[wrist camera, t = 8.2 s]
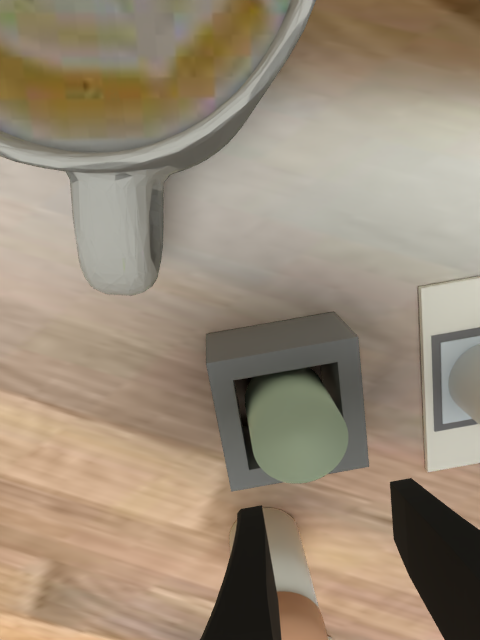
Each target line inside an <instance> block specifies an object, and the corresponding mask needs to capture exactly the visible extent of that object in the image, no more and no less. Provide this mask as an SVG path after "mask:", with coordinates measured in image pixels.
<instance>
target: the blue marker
mask: <svg viewBox="0 0 480 640" xmlns="http://www.w3.org/2000/svg"><path fill="white" fill-rule="evenodd" d="M448 387H449V392H450V395H451V397H452V399H453V401H454V402H455V403H456V404H457V405H458V406H459V407H460V408H461V409H462V410H463V411H465V412H466V413H467V414H468V415H469V416H470V417H471V418H472V419H473V420H475V421H476V422H477V423H478V424H479V425H480V344H478V345H476V346H473V347H472V348H470V349H468V350H467V351H466V352H464V353H463V354H462V355H461V356H460V357H459V358H458V360H457V361H456V362H455V364H454V366H453V368H452V370H451V372H450V376H449V382H448Z"/></svg>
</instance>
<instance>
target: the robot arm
mask: <svg viewBox="0 0 480 640" xmlns="http://www.w3.org/2000/svg"><path fill="white" fill-rule="evenodd" d="M390 489H391V504H392V519H393V534H394V541H395V543H396V546H397V548H398V551H399V553H400V555H401V558H402V560H403V562H404V565H405V567H406V569H407V572H408V574H409V576H410V578H411V580H412V582H413V583H414V585H415V587H416V589H417V591H418V593H419V594H420V596H421V598H422V600H423V602H424V603H425V605H426V607H427V609H428V611H429V612H430V614H431V616H432V618H433V619H434V621H435V623H436V625H437V627H438V628H439V630H440V632H441V634H442V636H443V637H444V639H445V640H480V530H479V529H477V528H476V527H475V526H473V525H472V524H470V523H469V522H468V521H466V520H465V519H464V518H462V517H461V516H459V515H458V514H457V513H455V512H454V511H453V510H451V509H450V508H449V507H447V506H446V505H445V504H444V503H442V502H441V501H440V500H438V499H437V498H436V497H435V496H433V495H432V494H431V493H429V492H428V491H427V490H426V489H424V488H423V487H422V486H421V485H419V484H418V483H417V482H415V481H414V480H413V479H411V478H410V479H404V480H399V481H393V482H390ZM200 640H282V639H281V627H280V615H279V603H278V596H277V590H276V584H275V578H274V572H273V566H272V561H271V555H270V549H269V543H268V538H267V532H266V526H265V520H264V515H263V509H262V505H261V506H256V507H250V508H245V509H241V510H240V511H239V512H238V513H237V526H236V532H235V538H234V542H233V547H232V551H231V555H230V559H229V563H228V566H227V570H226V573H225V577H224V580H223V583H222V586H221V589H220V591H219V594H218V597H217V600H216V603H215V606H214V608H213V611H212V614H211V616H210V618H209V621H208V623H207V626H206V628H205V630H204V633H203V635H202V637H201V639H200Z"/></svg>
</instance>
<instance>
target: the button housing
mask: <svg viewBox="0 0 480 640" xmlns="http://www.w3.org/2000/svg"><path fill="white" fill-rule="evenodd" d="M318 365H321V373H322V382H323V384H324V386H325V387H326V389H327V391H328V393H329V394H330V396H331V398H332V400H333V401H334V403H335V405H336V407H337V408H338V410H339V412H340V414H341V415H342V417H343V419H344V421H345V423H346V426H347V429H348V446H347V449H346V452H345V454H344V456H343V458H342V460H341V461H340V463H339V464H338V465H337V466H336V467H335V468H334V469H333V470H332V471H331V472H329V473H328V474H331V473H337V472H342V471H348V470H353V469H359V468H364V467H369V459H368V447H367V435H366V423H365V411H364V400H363V388H362V376H361V364H360V352H359V340H358V336H357V335H356V334H355V333H354V332H353V331H352V330H351V329H350V328H349V327H348V326H347V325H346V324H345V323H344V322H343V321H342V319H341V318H340V317H339V316H338V315H337V314H336V313H335V312H330V313H324V314H319V315H313V316H307V317H301V318H296V319H290V320H284V321H278V322H273V323H267V324H261V325H255V326H250V327H244V328H238V329H232V330H227V331H221V332H215V333H209V334H206V366H207V371H208V376H209V381H210V386H211V391H212V396H213V401H214V406H215V411H216V416H217V421H218V426H219V431H220V436H221V441H222V447H223V452H224V457H225V462H226V467H227V472H228V477H229V482H230V487H231V492H232V491H237V490H243V489H248V488H254V487H259V486H265V485H270V484H276V483H281V482H282V481H279V480H276V479H274V478H272V477H271V476H269V475H268V474H266V473H265V472H264V471H263V470H262V469H261V468H260V466H259V465H258V463H257V462H256V459H255V457H254V454H253V449H252V443H251V438H250V432H249V426H244V427H243V426H242V420H241V415H240V409H239V404H238V398H237V392H236V387H235V381H234V380H238V379H244V378H250V377H255V376H261V375H267V374H272V373H278V372H284V371H289V370H295V369H301V368H306V367H312V366H318Z"/></svg>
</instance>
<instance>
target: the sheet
mask: <svg viewBox="0 0 480 640" xmlns="http://www.w3.org/2000/svg"><path fill="white" fill-rule="evenodd" d="M418 296H419V322H420V347H421V373H422V399H423V425H424V450H425V469H426V471H427V472H432V471H438V470H443V469H449V468H454V467H460V466H465V465H471V464H476V463H480V425H479V424H478V423H477V422H476V421H475V420H473V419H472V418H471V417H470V416H469V415H468V414H467V413H466V412H465V411H463V410H462V409H461V408H460V407H459V406H458V405H457V404H456V403H455V402H454V401H453V399H452V397H451V395H450V392H449V387H448V382H449V376H450V372H451V370H452V368H453V366H454V364H455V362H456V361H457V360H458V358H459V357H460V356H461V355H462V354H463V353H464V352H466V351H467V350H468V349H470V348H472V347H473V346H476V345H478V344H480V276H477V277H471V278H466V279H460V280H454V281H448V282H443V283H437V284H431V285H425V286H420V287H418Z"/></svg>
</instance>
